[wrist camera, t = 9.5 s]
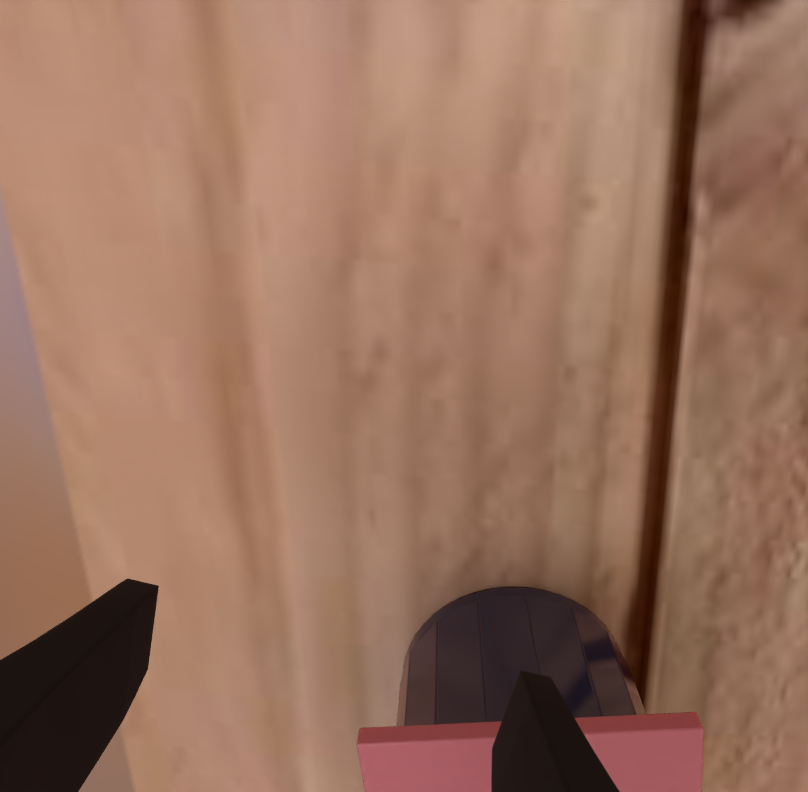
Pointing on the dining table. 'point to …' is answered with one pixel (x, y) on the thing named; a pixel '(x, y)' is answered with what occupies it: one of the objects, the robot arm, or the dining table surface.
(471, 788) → the pink square knobbed lid
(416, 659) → the dark faceted cylinder
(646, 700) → the dining table surface
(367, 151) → the dining table surface
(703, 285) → the dining table surface
